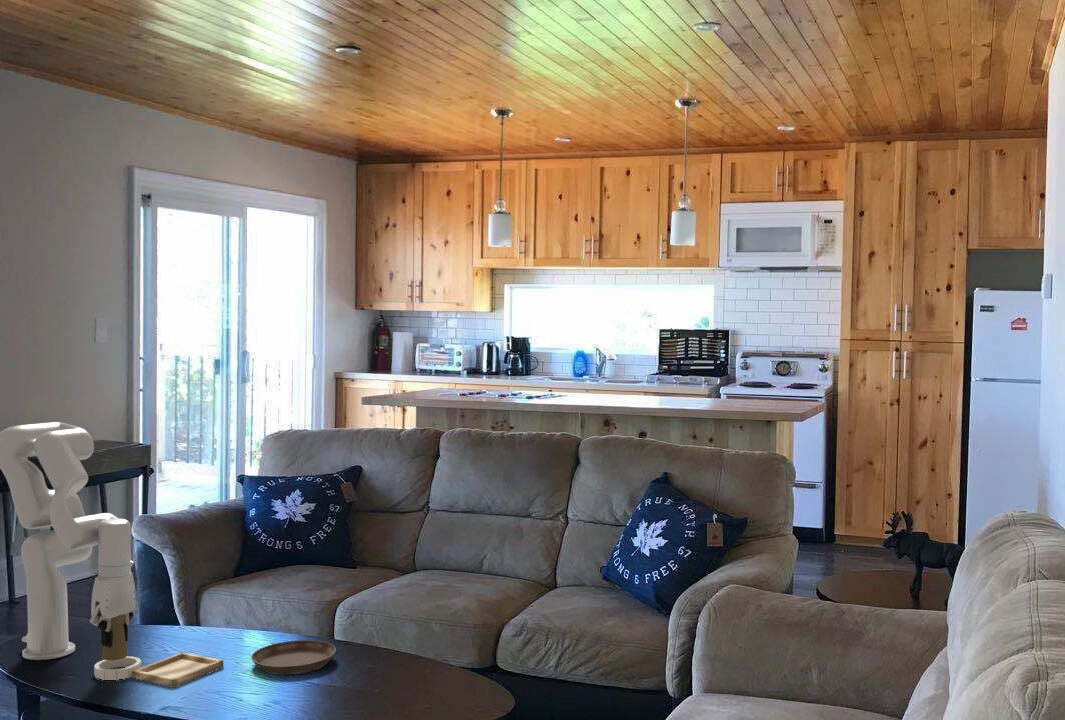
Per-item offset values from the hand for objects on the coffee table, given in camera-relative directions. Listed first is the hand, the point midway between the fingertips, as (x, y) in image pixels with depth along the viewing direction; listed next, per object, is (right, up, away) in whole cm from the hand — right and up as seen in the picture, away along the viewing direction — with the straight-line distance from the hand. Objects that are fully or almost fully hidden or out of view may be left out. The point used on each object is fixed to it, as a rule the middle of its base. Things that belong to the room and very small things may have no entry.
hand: (114, 642), depth 266 cm
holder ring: (+1, -7, 0) cm, 8 cm away
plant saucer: (+43, -7, +6) cm, 44 cm away
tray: (+16, -7, 0) cm, 17 cm away
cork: (0, -3, 0) cm, 4 cm away
